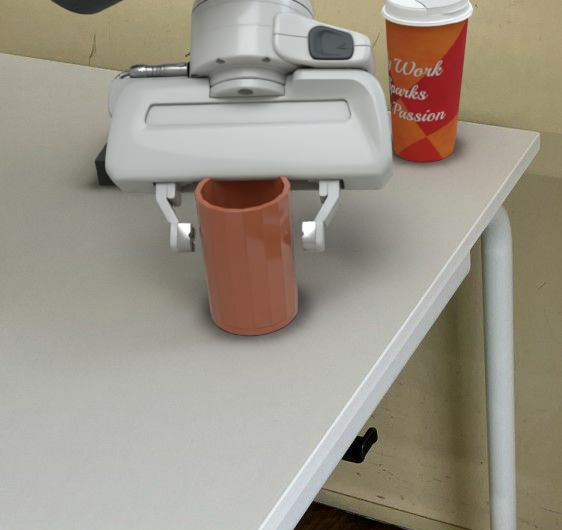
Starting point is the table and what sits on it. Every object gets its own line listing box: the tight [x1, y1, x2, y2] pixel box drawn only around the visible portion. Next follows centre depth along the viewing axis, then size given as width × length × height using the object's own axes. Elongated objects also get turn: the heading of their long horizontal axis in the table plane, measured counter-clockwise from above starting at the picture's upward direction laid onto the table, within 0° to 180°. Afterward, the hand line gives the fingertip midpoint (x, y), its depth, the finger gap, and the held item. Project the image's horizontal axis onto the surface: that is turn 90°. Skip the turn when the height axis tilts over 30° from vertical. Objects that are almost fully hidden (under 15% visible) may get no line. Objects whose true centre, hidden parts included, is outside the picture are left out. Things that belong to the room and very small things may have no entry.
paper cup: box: [380, 0, 474, 163], centre depth 89 cm, size 8×8×14 cm
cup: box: [193, 176, 299, 336], centre depth 71 cm, size 6×6×10 cm
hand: (247, 250), depth 70 cm, fingers open, 8 cm apart
